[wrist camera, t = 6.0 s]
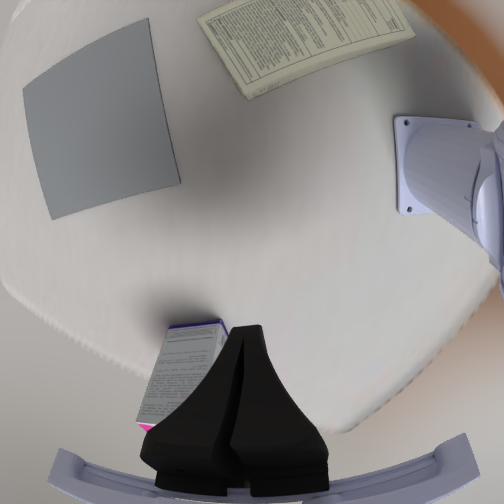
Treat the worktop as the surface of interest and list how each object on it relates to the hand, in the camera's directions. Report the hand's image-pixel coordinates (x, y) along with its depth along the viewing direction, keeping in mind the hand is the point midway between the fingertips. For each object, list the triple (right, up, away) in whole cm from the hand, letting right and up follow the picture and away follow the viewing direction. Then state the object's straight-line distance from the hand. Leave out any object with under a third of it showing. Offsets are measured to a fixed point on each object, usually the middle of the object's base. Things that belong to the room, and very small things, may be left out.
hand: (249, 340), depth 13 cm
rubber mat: (-13, +14, +5) cm, 20 cm away
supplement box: (-5, -5, +15) cm, 16 cm away
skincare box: (-2, +16, +1) cm, 16 cm away
